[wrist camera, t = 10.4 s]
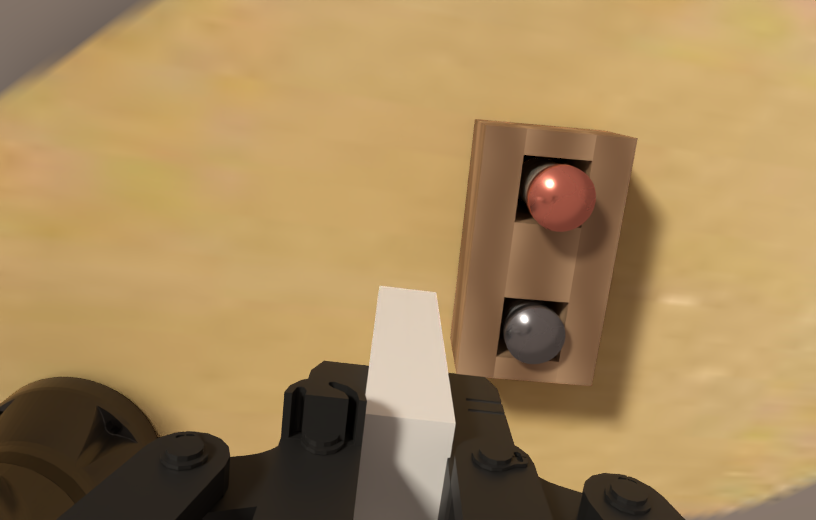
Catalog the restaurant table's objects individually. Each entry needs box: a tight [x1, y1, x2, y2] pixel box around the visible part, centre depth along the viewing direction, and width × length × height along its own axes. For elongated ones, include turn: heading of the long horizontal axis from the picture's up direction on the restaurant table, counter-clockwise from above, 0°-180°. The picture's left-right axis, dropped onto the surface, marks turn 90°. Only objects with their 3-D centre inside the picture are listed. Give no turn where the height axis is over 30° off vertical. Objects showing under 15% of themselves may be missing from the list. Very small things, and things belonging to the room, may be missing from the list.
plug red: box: [518, 157, 596, 232], centre depth 43 cm, size 4×4×8 cm
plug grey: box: [501, 297, 566, 364], centre depth 47 cm, size 4×4×8 cm
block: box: [450, 119, 638, 386], centre depth 46 cm, size 10×18×7 cm, turn 175°
